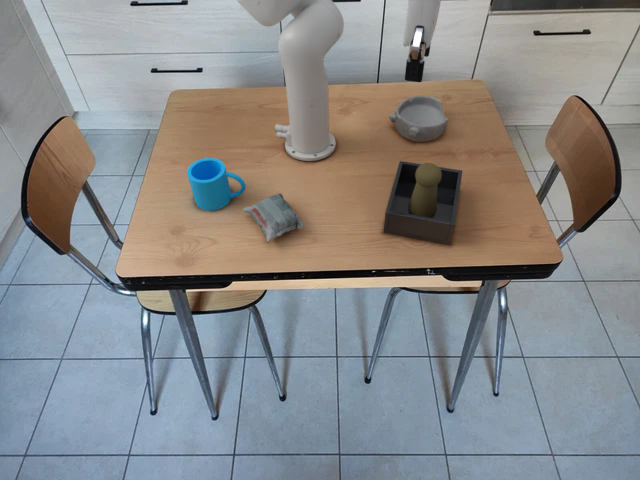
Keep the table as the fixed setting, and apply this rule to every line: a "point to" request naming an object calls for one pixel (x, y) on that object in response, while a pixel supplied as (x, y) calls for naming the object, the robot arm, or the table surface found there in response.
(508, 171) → the table surface
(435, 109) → the dish
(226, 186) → the mug
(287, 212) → the packaged food
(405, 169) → the open box
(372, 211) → the table surface
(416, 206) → the olive pawn
